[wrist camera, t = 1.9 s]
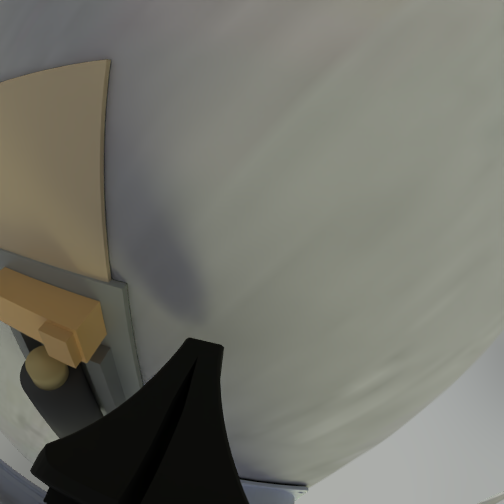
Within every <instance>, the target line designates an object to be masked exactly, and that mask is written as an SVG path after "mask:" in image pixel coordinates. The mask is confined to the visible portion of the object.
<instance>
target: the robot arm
mask: <svg viewBox="0 0 504 504" xmlns="http://www.w3.org/2000/svg"><path fill="white" fill-rule="evenodd" d="M223 351H224V347H223V346H222V345H220V344H215V343H211V342H206V341H202V340H198V339H194V338H187V339H186V340H185V342H184V343H183V344H182V346H181V347H180V348H179V349H178V351H177V352H176V353H175V354H174V355H173V356H172V358H171V359H170V360H169V361H168V362H167V363H166V364H165V365H164V366H163V367H162V368H161V369H160V370H159V372H158V373H157V374H156V375H155V376H154V377H153V378H152V379H150V380H149V381H148V382H147V383H146V384H145V385H144V386H143V387H142V388H141V389H140V390H138V391H137V392H136V393H135V394H134V395H133V396H131V397H130V398H129V399H128V400H126V401H125V402H124V403H122V404H121V405H120V406H118V407H117V408H115V409H114V410H112V411H111V412H110V413H108V414H107V415H105V416H104V417H102V418H100V419H99V420H97V421H95V422H94V423H92V424H90V425H88V426H86V427H84V428H82V429H80V430H78V431H77V432H74V433H72V434H70V435H68V436H65V437H63V438H60V439H58V440H56V441H53V442H50V443H48V444H46V445H45V447H44V448H43V449H42V451H41V452H40V453H39V455H38V457H37V459H36V460H35V462H34V464H33V466H32V468H31V470H30V471H31V473H32V474H33V475H34V476H35V477H37V478H38V479H39V480H41V481H42V482H43V483H45V484H46V485H48V486H49V489H48V492H46V491H44V490H42V489H41V488H40V487H38V486H37V485H35V484H34V483H32V482H31V481H29V480H28V479H26V478H25V477H24V476H22V475H21V474H19V473H18V472H17V471H15V470H14V469H12V468H11V467H10V466H9V465H7V464H6V463H5V462H4V461H2V460H1V459H0V504H294V501H296V500H297V499H298V498H300V497H301V496H302V495H304V494H305V493H306V492H307V491H308V487H304V486H289V485H278V484H269V483H261V482H254V481H247V480H241V479H239V476H238V473H237V470H236V467H235V464H234V460H233V457H232V454H231V450H230V446H229V442H228V438H227V433H226V429H225V423H224V417H223V410H222V402H221V388H220V376H221V367H222V359H223Z"/></svg>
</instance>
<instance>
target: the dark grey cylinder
mask: <svg viewBox="0 0 504 504" xmlns="http://www.w3.org/2000/svg"><path fill="white" fill-rule="evenodd" d="M20 381H21V385H22V388H23V390H24V391H25V393H26V394H27V396H28V397H29V399H30V400H31V402H32V403H33V404H34V406H35V407H36V409H37V410H38V411H39V413H40V414H41V415H42V417H43V418H44V419H45V421H46V422H47V423H48V425H49V426H50V427H51V429H52V430H53V431H54V432H55V433H56V435H57V436H58V437H59V438H63V437H65V436H68V435H70V434H72V433H74V432H77V431H78V430H80V429H82V428H84V427H86V426H88V425H90V424H92V423H94V422H95V421H97V420H99V419H100V418H102V417H104V416H103V414H102V411H101V409H100V407H99V405H98V403H97V401H96V399H95V397H94V394H93V392H92V390H91V388H90V385H89V383H88V381H87V378H86V376H85V374H84V371H83V369H82V366H81V364H80V363H79V365H78V366H77V368H73V367H71V366H69V365H67V364H65V363H63V362H60V361H58V360H56V359H54V358H52V357H50V356H49V355H48V353H47V351H46V348H45V346H44V345H43V346H39V347H37V348H35V349H33V350H32V351H31V352H30V353H29V354H28V356H27V358H26V361H25V362H24V364H23V366H22V369H21V372H20Z"/></svg>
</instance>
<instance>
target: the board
mask: <svg viewBox="0 0 504 504" xmlns="http://www.w3.org/2000/svg"><path fill="white" fill-rule="evenodd" d="M110 63H111V60H107V59H106V60H98V61H91V62H84V63H78V64H72V65H67V66H62V67H57V68H52V69H48V70H43V71H39V72H35V73H31V74H27V75H24V76H20V77H17V78H13V79H10V80H7V81H4V82H1V83H0V270H1V269H3V268H4V267H6V268H9V269H11V270H14V271H16V272H19V273H21V274H24V275H26V276H29V277H31V278H34V279H37V280H39V281H42V282H45V283H47V284H50V285H53V286H56V287H58V288H61V289H64V290H67V291H70V292H73V293H76V294H79V295H82V296H85V297H88V298H91V299H94V300H97V301H100V305H101V310H102V314H103V319H104V324H105V328H106V332H107V335H106V336H105V338H104V339H103V341H102V342H101V344H100V345H99V347H98V348H97V349H96V351H95V352H94V354H93V355H92V357H91V358H90V360H89V361H88V363H85V362H82V361H81V362H80V364H81V366H82V369H83V371H84V374H85V376H86V378H87V381H88V383H89V385H90V388H91V390H92V392H93V394H94V397H95V399H96V401H97V403H98V405H99V407H100V409H101V411H102V414H103V416H105V415H107V414H108V413H110V412H111V411H112V410H114V409H115V408H117V407H118V406H120V405H121V404H122V403H124V402H125V401H126V400H128V399H129V398H130V397H131V396H133V395H134V394H135V393H136V392H137V391H138V390H140V389H141V388H142V387H143V383H142V378H141V373H140V368H139V363H138V358H137V352H136V347H135V341H134V335H133V329H132V322H131V315H130V308H129V300H128V292H127V283H123V282H119V281H115V280H112V279H111V272H110V264H109V255H108V245H107V233H106V219H105V200H104V131H105V112H106V99H107V88H108V79H109V70H110ZM10 327H11V326H10ZM11 330H12V332H13V334H14V336H15V338H16V340H17V343H18V345H19V347H20V349H21V351H22V353H23V355H24V357H25V359H26V358H27V356H28V354H29V353H30V352H31V351H32V350H33V349H35V348H37V347H39V346H43V345H44V344H43V343H41V342H39V341H37V340H35V339H33V338H31V337H29V336H27V335H26V334H24V333H22V332H20V331H18V330H16V329H15V328H13V327H11Z"/></svg>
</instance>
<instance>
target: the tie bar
mask: <svg viewBox="0 0 504 504" xmlns="http://www.w3.org/2000/svg"><path fill="white" fill-rule="evenodd" d="M0 320H1V321H2V322H4V323H6V324H8V325H9V326H11V327H13V328H15V329H16V330H18V331H20V332H22V333H24V334H26V335H27V336H29V337H31V338H33V339H35V340H37V341H39V342H41V343H43V344H44V346H45V348H46V351H47V353H48V355H49V356H50V357H52V358H54V359H56V360H58V361H60V362H63V363H65V364H67V365H69V366H71V367H73V368H77V366H78V365H79V363H80V362H81V361H82V362H85V363H88V361H89V360H90V358H91V357H92V355H93V354H94V352H95V351H96V349H97V348H98V347H99V345H100V344H101V342H102V341H103V339H104V338H105V336H106V335H107V332H106V328H105V324H104V319H103V314H102V310H101V305H100V301H97V300H94V299H91V298H88V297H85V296H82V295H79V294H76V293H73V292H70V291H67V290H64V289H61V288H58V287H56V286H53V285H50V284H47V283H45V282H42V281H39V280H37V279H34V278H31V277H29V276H26V275H24V274H21V273H19V272H16V271H14V270H11V269H9V268H6V267H4V268H3V269H1V270H0Z"/></svg>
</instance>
